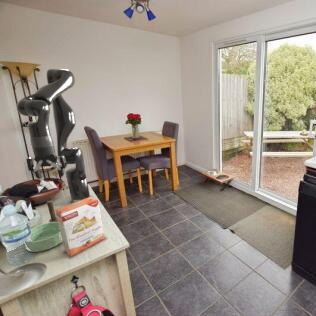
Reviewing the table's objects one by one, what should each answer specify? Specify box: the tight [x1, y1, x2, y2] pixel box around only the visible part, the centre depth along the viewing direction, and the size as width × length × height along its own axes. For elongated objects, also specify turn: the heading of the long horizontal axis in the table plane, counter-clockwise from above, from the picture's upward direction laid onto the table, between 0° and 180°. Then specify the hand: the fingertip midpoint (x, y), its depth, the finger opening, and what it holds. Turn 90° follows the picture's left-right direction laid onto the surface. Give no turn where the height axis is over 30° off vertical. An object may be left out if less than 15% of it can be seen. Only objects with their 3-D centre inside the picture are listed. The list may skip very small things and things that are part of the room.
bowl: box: [25, 221, 63, 253], centre depth 99 cm, size 14×14×6 cm
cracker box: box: [54, 196, 105, 257], centre depth 95 cm, size 14×6×21 cm, turn 148°
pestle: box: [46, 200, 58, 223], centre depth 108 cm, size 4×4×14 cm
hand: (50, 177), depth 106 cm, fingers open, 8 cm apart
